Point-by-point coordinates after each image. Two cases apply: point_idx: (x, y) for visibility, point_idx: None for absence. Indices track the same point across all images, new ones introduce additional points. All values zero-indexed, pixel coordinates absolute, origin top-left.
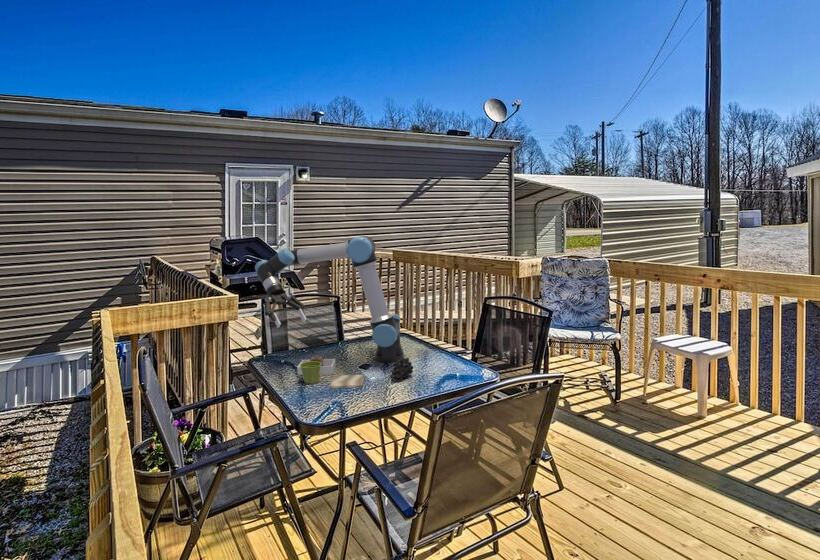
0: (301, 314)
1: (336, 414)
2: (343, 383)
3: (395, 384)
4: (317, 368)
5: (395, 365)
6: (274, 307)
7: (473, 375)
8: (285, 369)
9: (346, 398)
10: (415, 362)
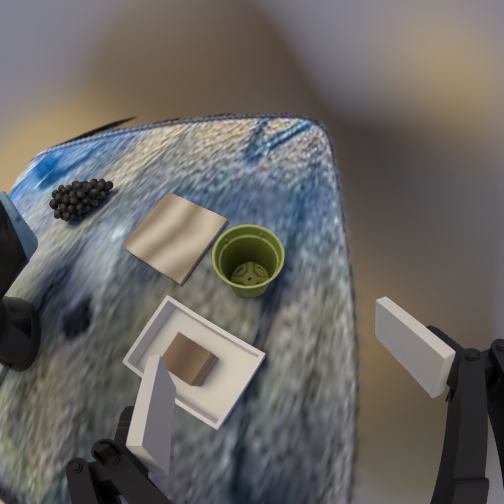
0: (157, 409)
1: (271, 127)
2: (192, 218)
3: (118, 182)
4: (237, 233)
5: (82, 189)
6: (467, 414)
7: (36, 172)
8: (273, 452)
9: (227, 164)
10: None
